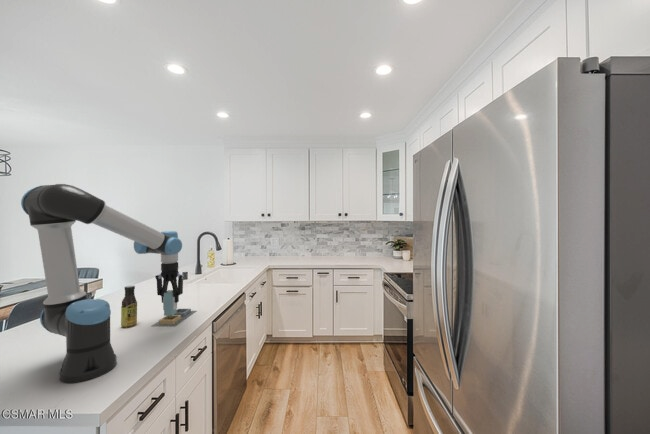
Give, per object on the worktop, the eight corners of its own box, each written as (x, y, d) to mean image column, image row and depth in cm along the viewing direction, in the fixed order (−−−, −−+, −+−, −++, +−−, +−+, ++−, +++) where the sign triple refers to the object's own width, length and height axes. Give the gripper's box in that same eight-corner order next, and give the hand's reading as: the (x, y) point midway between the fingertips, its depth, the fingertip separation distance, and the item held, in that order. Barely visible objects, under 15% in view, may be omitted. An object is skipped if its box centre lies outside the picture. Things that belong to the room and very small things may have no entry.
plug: (172, 315, 137) (171, 291, 136) (164, 315, 137) (163, 291, 137) (176, 312, 141) (176, 289, 140) (168, 312, 141) (168, 289, 141)
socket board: (175, 328, 132) (175, 322, 132) (150, 328, 133) (150, 322, 133) (197, 312, 154) (197, 307, 154) (176, 312, 155) (176, 307, 155)
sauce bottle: (128, 330, 130) (128, 288, 130) (117, 330, 131) (117, 287, 131) (140, 325, 136) (140, 285, 136) (129, 324, 138) (129, 284, 138)
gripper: (190, 260, 142) (191, 306, 142) (157, 261, 142) (158, 306, 142) (182, 263, 135) (183, 311, 135) (147, 263, 135) (148, 311, 135)
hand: (170, 309), depth 139 cm, fingers closed on plug, 4 cm apart
